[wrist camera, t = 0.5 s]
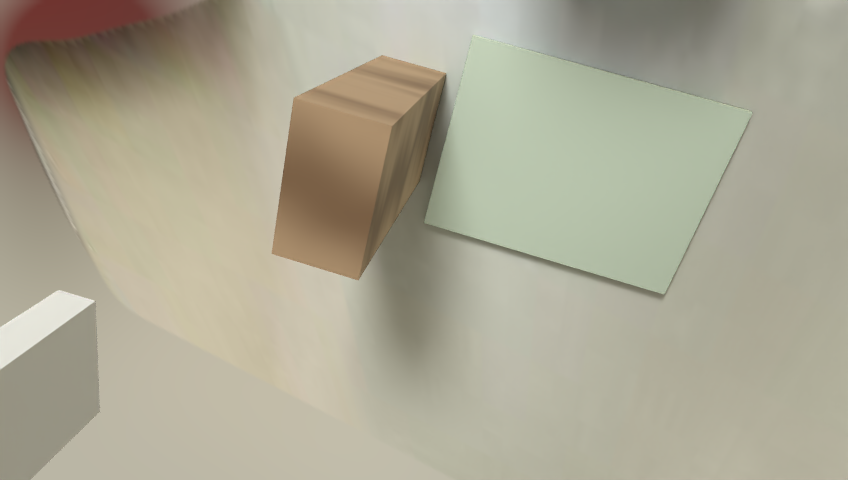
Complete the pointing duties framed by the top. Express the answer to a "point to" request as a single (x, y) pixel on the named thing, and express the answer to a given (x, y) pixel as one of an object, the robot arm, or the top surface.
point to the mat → (580, 163)
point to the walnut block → (354, 162)
